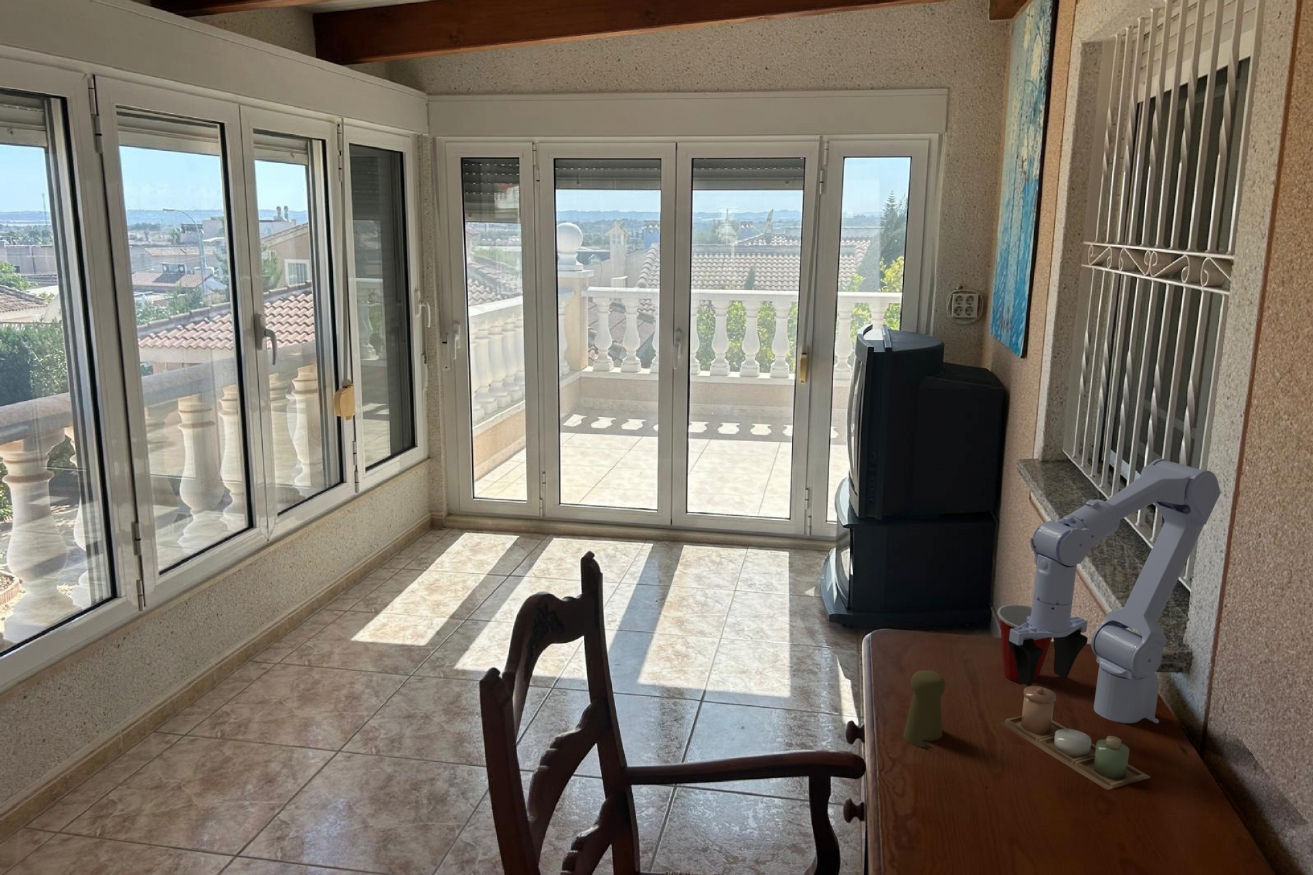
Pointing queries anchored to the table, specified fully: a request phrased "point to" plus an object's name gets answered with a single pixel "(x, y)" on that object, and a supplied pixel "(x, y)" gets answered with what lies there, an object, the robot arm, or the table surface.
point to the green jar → (1111, 758)
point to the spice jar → (1037, 709)
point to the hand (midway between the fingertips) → (1043, 679)
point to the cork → (925, 709)
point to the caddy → (1079, 764)
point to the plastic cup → (1009, 620)
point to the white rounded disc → (1072, 742)
